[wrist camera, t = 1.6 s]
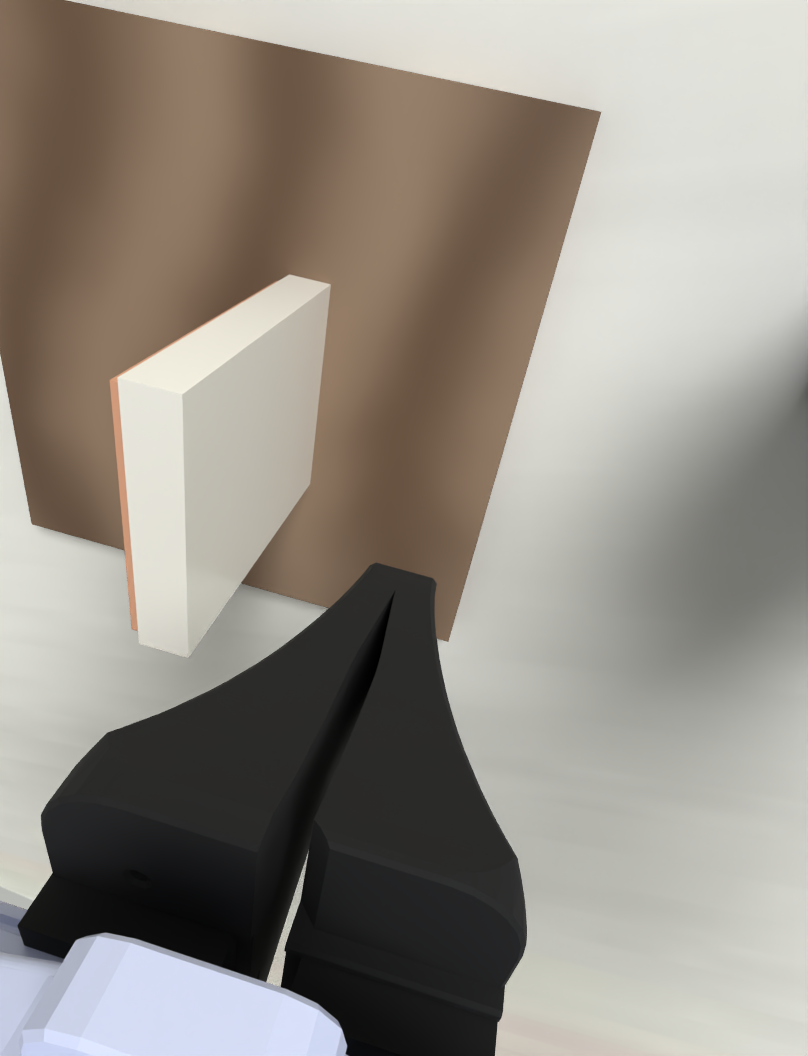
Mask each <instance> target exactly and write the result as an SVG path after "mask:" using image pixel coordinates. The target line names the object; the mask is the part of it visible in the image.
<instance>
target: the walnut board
mask: <svg viewBox="0 0 808 1056" xmlns="http://www.w3.org/2000/svg"><path fill="white" fill-rule="evenodd" d="M600 114H601V112H599V111H594V110H589V109H585V108H580V107H575V106H570V105H565V104H561V103H556V102H551V101H546V100H541V99H537V98H532V97H527V96H522V95H517V94H513V93H508V92H503V91H498V90H493V89H489V88H484V87H479V86H474V85H469V84H464V83H460V82H455V81H450V80H445V79H440V78H436V77H431V76H426V75H421V74H416V73H412V72H407V71H402V70H397V69H392V68H388V67H383V66H378V65H373V64H368V63H364V62H359V61H354V60H349V59H344V58H340V57H335V56H330V55H325V54H320V53H316V52H311V51H306V50H301V49H296V48H292V47H287V46H282V45H277V44H272V43H268V42H263V41H258V40H253V39H248V38H244V37H239V36H234V35H229V34H224V33H220V32H215V31H210V30H205V29H200V28H196V27H191V26H186V25H181V24H176V23H172V22H167V21H162V20H157V19H152V18H148V17H143V16H138V15H133V14H128V13H124V12H119V11H114V10H109V9H104V8H100V7H95V6H90V5H85V4H80V3H76V2H71V1H66V0H0V354H1V360H2V365H3V371H4V376H5V381H6V387H7V392H8V398H9V403H10V409H11V414H12V419H13V425H14V430H15V436H16V441H17V447H18V452H19V457H20V463H21V468H22V474H23V479H24V485H25V490H26V495H27V501H28V506H29V512H30V517H31V523H32V524H33V525H37V526H41V527H44V528H48V529H51V530H55V531H58V532H62V533H65V534H69V535H72V536H76V537H79V538H83V539H87V540H90V541H94V542H97V543H101V544H104V545H108V546H111V547H115V548H118V549H122V550H125V548H124V536H123V525H122V514H121V503H120V491H119V480H118V469H117V458H116V446H115V435H114V424H113V413H112V401H111V390H110V379H112V378H114V377H116V376H117V375H119V374H121V373H122V372H124V371H126V370H127V369H129V368H131V367H132V366H134V365H136V364H137V363H139V362H141V361H142V360H144V359H146V358H147V357H149V356H151V355H153V354H154V353H156V352H158V351H159V350H161V349H163V348H164V347H166V346H168V345H169V344H171V343H173V342H174V341H176V340H178V339H179V338H181V337H183V336H184V335H186V334H188V333H190V332H191V331H193V330H195V329H196V328H198V327H200V326H201V325H203V324H205V323H206V322H208V321H210V320H211V319H213V318H215V317H216V316H218V315H220V314H222V313H223V312H225V311H227V310H228V309H230V308H232V307H233V306H235V305H237V304H238V303H240V302H242V301H243V300H245V299H247V298H248V297H250V296H252V295H253V294H255V293H257V292H259V291H260V290H262V289H264V288H265V287H267V286H269V285H270V284H272V283H274V282H275V281H279V280H281V279H283V278H284V277H286V276H288V275H294V276H298V277H302V278H306V279H310V280H315V281H319V282H323V283H327V284H331V288H330V298H329V307H328V317H327V327H326V336H325V346H324V356H323V365H322V375H321V384H320V394H319V404H318V413H317V423H316V433H315V442H314V452H313V461H312V471H311V481H310V485H309V486H308V488H307V489H306V491H305V492H304V493H303V495H302V496H301V498H300V499H299V501H298V502H297V504H296V505H295V506H294V508H293V509H292V511H291V512H290V514H289V515H288V516H287V518H286V519H285V521H284V522H283V524H282V525H281V526H280V528H279V529H278V531H277V532H276V534H275V535H274V536H273V538H272V539H271V541H270V542H269V544H268V545H267V546H266V548H265V549H264V551H263V552H262V554H261V555H260V556H259V558H258V559H257V561H256V562H255V564H254V565H253V566H252V568H251V569H250V571H249V572H248V574H247V575H246V576H245V578H244V579H243V581H242V582H241V583H242V584H246V585H249V586H253V587H256V588H260V589H263V590H267V591H271V592H274V593H278V594H281V595H285V596H288V597H292V598H295V599H299V600H302V601H306V602H309V603H313V604H317V605H320V606H324V607H327V608H330V607H331V606H332V605H333V604H334V603H335V602H336V601H337V600H338V599H340V598H341V597H342V596H343V595H344V594H345V593H346V592H347V591H348V590H349V589H350V588H351V586H352V585H353V584H354V583H355V582H356V581H357V580H358V579H359V578H360V577H361V575H362V574H363V573H364V572H365V571H366V569H367V568H368V567H369V566H370V565H371V564H374V563H380V564H383V565H387V566H391V567H394V568H398V569H402V570H405V571H409V572H413V573H416V574H420V575H424V576H427V577H431V578H433V579H434V580H435V582H436V583H437V586H436V591H435V628H436V638H437V639H440V640H444V641H447V642H448V640H449V637H450V634H451V630H452V627H453V623H454V620H455V616H456V613H457V609H458V606H459V602H460V599H461V595H462V592H463V589H464V585H465V582H466V578H467V575H468V571H469V568H470V564H471V561H472V557H473V554H474V550H475V547H476V544H477V540H478V537H479V533H480V530H481V526H482V523H483V519H484V516H485V512H486V509H487V505H488V502H489V499H490V495H491V492H492V488H493V485H494V481H495V478H496V474H497V471H498V467H499V464H500V460H501V457H502V454H503V450H504V447H505V443H506V440H507V436H508V433H509V429H510V426H511V422H512V419H513V415H514V412H515V409H516V405H517V402H518V398H519V395H520V391H521V388H522V384H523V381H524V377H525V374H526V370H527V367H528V364H529V360H530V357H531V353H532V350H533V346H534V343H535V339H536V336H537V332H538V329H539V325H540V322H541V319H542V315H543V312H544V308H545V305H546V301H547V298H548V294H549V291H550V287H551V284H552V280H553V277H554V274H555V270H556V267H557V263H558V260H559V256H560V253H561V249H562V246H563V242H564V239H565V235H566V232H567V229H568V225H569V222H570V218H571V215H572V211H573V208H574V204H575V201H576V197H577V194H578V190H579V187H580V184H581V180H582V177H583V173H584V170H585V166H586V163H587V159H588V156H589V152H590V149H591V145H592V142H593V139H594V135H595V132H596V128H597V125H598V121H599V118H600Z"/></svg>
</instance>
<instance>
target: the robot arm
mask: <svg viewBox="0 0 808 1056" xmlns="http://www.w3.org/2000/svg"><path fill="white" fill-rule="evenodd" d="M436 586H437V583H436V582H435V580H434V579H433V578H431V577H427V576H424V575H420V574H416V573H413V572H409V571H405V570H402V569H398V568H394V567H391V566H387V565H383V564H380V563H374V564H371V565H370V566H369V567H368V568H367V569H366V571H365V572H364V573H363V574H362V575H361V577H360V578H359V579H358V580H357V581H356V582H355V583H354V584H353V585H352V586H351V588H350V589H349V590H348V591H347V592H346V593H345V594H344V595H343V596H342V597H341V598H340V599H338V600H337V601H336V602H335V603H334V604H333V605H332V606H331V607H330V608H329V609H328V610H326V611H325V612H324V613H323V614H322V615H321V616H320V617H319V618H318V619H316V620H315V621H314V622H313V623H312V624H310V625H309V626H308V627H307V628H305V629H304V630H303V631H302V632H300V633H299V634H298V635H297V636H295V637H294V638H293V639H292V640H290V641H289V642H288V643H286V644H285V645H283V646H282V647H281V648H279V649H278V650H277V651H275V652H274V653H272V654H271V655H269V656H268V657H266V658H265V659H263V660H262V661H260V662H259V663H257V664H256V665H254V666H252V667H251V668H249V669H247V670H246V671H244V672H242V673H240V674H239V675H237V676H235V677H234V678H232V679H230V680H229V681H227V682H225V683H223V684H221V685H219V686H218V687H216V688H214V689H212V690H210V691H208V692H206V693H204V694H201V695H199V696H197V697H195V698H193V699H191V700H189V701H187V702H184V703H182V704H180V705H178V706H176V707H174V708H172V709H169V710H167V711H165V712H162V713H160V714H157V715H155V716H152V717H149V718H147V719H144V720H141V721H139V722H136V723H133V724H131V725H128V726H125V727H123V728H120V729H117V730H114V731H111V732H108V733H107V734H106V735H105V736H104V737H103V738H102V739H101V740H100V741H99V742H98V743H97V744H96V745H95V746H94V747H93V748H92V749H91V750H90V751H89V752H88V753H87V754H86V755H85V756H84V757H83V758H82V759H81V761H80V762H79V763H78V764H77V765H76V766H75V767H74V769H73V770H72V771H71V773H70V774H69V775H68V777H67V778H66V779H65V781H64V782H63V783H62V785H61V786H60V787H59V789H58V790H57V791H56V793H55V794H54V795H53V797H52V798H51V799H50V801H49V802H48V803H47V805H46V807H45V808H44V810H43V812H42V814H41V826H42V832H43V836H44V840H45V844H46V848H47V852H48V856H49V859H50V863H51V867H52V871H53V873H52V875H51V876H50V878H49V879H48V881H47V882H46V884H45V885H44V887H43V888H42V890H41V891H40V893H39V894H38V896H37V897H36V899H35V900H34V901H33V903H32V904H31V906H30V907H29V909H28V910H26V909H23V908H20V907H17V906H14V905H11V904H8V903H5V902H2V901H0V1056H495V1047H496V1035H497V1023H498V1022H499V1021H500V1019H501V1017H502V1012H503V1002H504V990H505V984H506V983H507V981H508V980H509V978H510V976H511V975H512V973H513V971H514V970H515V968H516V966H517V965H518V963H519V961H520V960H521V958H522V956H523V953H524V950H525V946H526V940H527V924H526V909H525V899H524V892H523V885H522V880H521V874H520V869H519V864H518V859H517V857H516V855H515V853H514V851H513V850H512V848H511V846H510V845H509V843H508V841H507V839H506V838H505V836H504V834H503V832H502V830H501V829H500V827H499V825H498V823H497V821H496V819H495V817H494V815H493V813H492V811H491V809H490V807H489V805H488V803H487V801H486V799H485V797H484V795H483V793H482V791H481V789H480V786H479V784H478V782H477V779H476V777H475V775H474V772H473V770H472V767H471V765H470V763H469V760H468V758H467V755H466V753H465V751H464V748H463V745H462V742H461V739H460V736H459V734H458V731H457V728H456V725H455V721H454V718H453V715H452V712H451V708H450V704H449V701H448V697H447V693H446V689H445V684H444V680H443V675H442V670H441V665H440V659H439V652H438V645H437V638H436V628H435V591H436ZM308 850H309V853H308ZM307 853H308V859H307V865H306V872H305V878H304V884H303V890H302V896H301V901H300V904H299V907H298V910H297V913H296V916H295V919H294V921H293V924H292V927H291V930H290V933H289V936H288V939H287V942H286V946H285V952H286V956H285V963H284V969H283V976H282V983H281V987H279V986H276V985H273V984H270V983H267V982H266V981H267V977H268V974H269V971H270V968H271V965H272V962H273V958H274V955H275V952H276V949H277V946H278V943H279V939H280V936H281V933H282V930H283V927H284V924H285V921H286V918H287V915H288V912H289V909H290V905H291V902H292V899H293V896H294V893H295V890H296V887H297V884H298V881H299V878H300V875H301V872H302V869H303V866H304V863H305V860H306V856H307Z"/></svg>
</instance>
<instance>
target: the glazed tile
mask: <svg viewBox="0 0 808 1056" xmlns="http://www.w3.org/2000/svg"><path fill="white" fill-rule="evenodd" d="M330 288H331V284H327V283H323V282H319V281H315V280H310V279H306V278H302V277H298V276H294V275H288V276H286V277H284V278H283V279H281V280H279V281H275V282H274V283H272V284H270V285H269V286H267V287H265V288H264V289H262V290H260V291H259V292H257V293H255V294H253V295H252V296H250V297H248V298H247V299H245V300H243V301H242V302H240V303H238V304H237V305H235V306H233V307H232V308H230V309H228V310H227V311H225V312H223V313H222V314H220V315H218V316H216V317H215V318H213V319H211V320H210V321H208V322H206V323H205V324H203V325H201V326H200V327H198V328H196V329H195V330H193V331H191V332H190V333H188V334H186V335H184V336H183V337H181V338H179V339H178V340H176V341H174V342H173V343H171V344H169V345H168V346H166V347H164V348H163V349H161V350H159V351H158V352H156V353H154V354H153V355H151V356H149V357H147V358H146V359H144V360H142V361H141V362H139V363H137V364H136V365H134V366H132V367H131V368H129V369H127V370H126V371H124V372H122V373H121V374H119V375H117V376H116V377H114V378H112V379H110V390H111V401H112V413H113V424H114V435H115V446H116V458H117V469H118V480H119V491H120V503H121V514H122V525H123V536H124V548H125V559H126V570H127V581H128V593H129V604H130V615H131V626H132V629H133V630H136V631H138V637H139V644H142V645H145V646H149V647H152V648H155V649H159V650H162V651H166V652H169V653H172V654H176V655H179V656H183V657H186V658H189V657H190V655H191V654H192V652H193V651H194V649H195V648H196V647H197V645H198V644H199V642H200V641H201V639H202V638H203V637H204V635H205V634H206V632H207V631H208V629H209V628H210V627H211V625H212V624H213V622H214V621H215V619H216V618H217V617H218V615H219V614H220V612H221V611H222V609H223V608H224V607H225V605H226V604H227V602H228V601H229V599H230V598H231V597H232V595H233V594H234V592H235V591H236V589H237V588H238V587H239V585H240V584H241V582H242V581H243V579H244V578H245V576H246V575H247V574H248V572H249V571H250V569H251V568H252V566H253V565H254V564H255V562H256V561H257V559H258V558H259V556H260V555H261V554H262V552H263V551H264V549H265V548H266V546H267V545H268V544H269V542H270V541H271V539H272V538H273V536H274V535H275V534H276V532H277V531H278V529H279V528H280V526H281V525H282V524H283V522H284V521H285V519H286V518H287V516H288V515H289V514H290V512H291V511H292V509H293V508H294V506H295V505H296V504H297V502H298V501H299V499H300V498H301V496H302V495H303V493H304V492H305V491H306V489H307V488H308V486H309V485H310V481H311V471H312V461H313V452H314V442H315V433H316V423H317V413H318V404H319V394H320V384H321V375H322V365H323V356H324V346H325V336H326V327H327V317H328V307H329V298H330Z"/></svg>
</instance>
